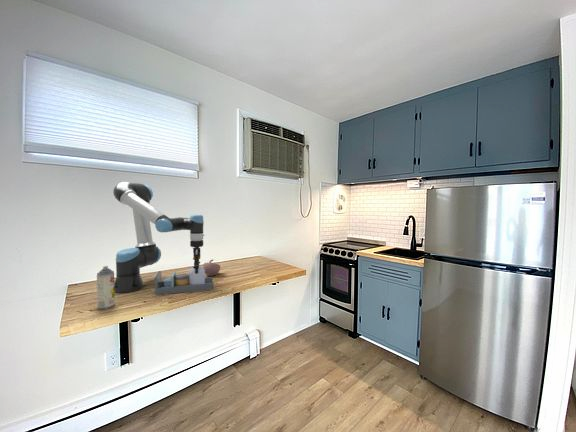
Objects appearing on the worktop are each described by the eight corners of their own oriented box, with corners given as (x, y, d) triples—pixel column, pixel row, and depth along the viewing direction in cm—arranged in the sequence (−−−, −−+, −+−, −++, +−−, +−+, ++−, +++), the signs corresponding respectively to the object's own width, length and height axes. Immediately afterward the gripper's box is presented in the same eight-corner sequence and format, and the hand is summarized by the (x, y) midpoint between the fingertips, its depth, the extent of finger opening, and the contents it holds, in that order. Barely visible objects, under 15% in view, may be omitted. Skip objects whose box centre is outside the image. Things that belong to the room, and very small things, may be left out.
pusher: (163, 292, 133) (163, 277, 133) (166, 286, 143) (166, 272, 142) (173, 291, 135) (173, 276, 134) (175, 285, 145) (175, 271, 144)
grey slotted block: (154, 295, 130) (154, 277, 130) (159, 287, 143) (159, 271, 142) (213, 289, 141) (213, 272, 141) (212, 282, 153) (212, 267, 153)
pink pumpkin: (222, 273, 174) (222, 258, 173) (216, 278, 162) (216, 262, 161) (207, 272, 175) (207, 257, 174) (199, 277, 163) (199, 261, 163)
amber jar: (173, 291, 136) (173, 278, 136) (175, 287, 144) (175, 274, 143) (188, 290, 139) (188, 277, 138) (189, 285, 146) (189, 273, 146)
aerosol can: (113, 307, 114) (113, 267, 113) (95, 310, 111) (95, 268, 110) (115, 302, 120) (115, 264, 119) (98, 304, 116) (98, 265, 116)
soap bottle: (188, 289, 139) (187, 248, 137) (190, 284, 147) (189, 246, 146) (204, 288, 141) (203, 248, 140) (205, 283, 150) (204, 245, 148)
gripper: (203, 242, 134) (203, 281, 135) (203, 237, 154) (203, 270, 155) (189, 243, 131) (189, 282, 132) (191, 237, 152) (191, 271, 153)
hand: (196, 276), depth 144 cm, fingers closed on soap bottle, 9 cm apart
